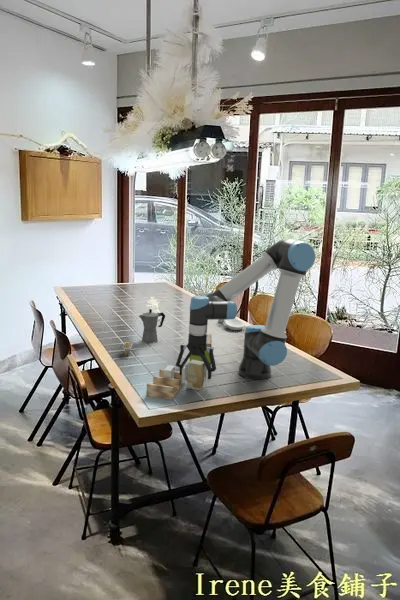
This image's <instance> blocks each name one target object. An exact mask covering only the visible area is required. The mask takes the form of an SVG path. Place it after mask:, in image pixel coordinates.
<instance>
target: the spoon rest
mask: <svg viewBox="0 0 400 600" xmlns="http://www.w3.org/2000/svg"><path fill="white" fill-rule="evenodd" d="M217 322H218V323H225V325H226V327H227V329H229V330H231V331H240V330H243V328H245V323H243V322H242V321H240V320H239V319H237V318H236V317H235V318H234V319H228V320H217Z"/></svg>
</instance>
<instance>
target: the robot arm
mask: <svg viewBox="0 0 400 600" xmlns="http://www.w3.org/2000/svg"><path fill="white" fill-rule="evenodd" d="M315 262H316V252H315V250H314V248H313V246H312V245H311V244H309V243H308V242H306V241H303V240H298V239H294V238H283V239H281V240H279V241H277V242H275V243H274V244H272V245H271V246H270V247H268V248H267V249H266V250H264V251H263V252H262V256H260V257H259V258H257V259H256V260H255V261H254V262H252V263H250V265H248V266H246V267H245V269H243V270H241V271H240V272H239V273H237V274H236V275H235V276H234V277H232V278H231V279H230V280H229V281H228V282H226V283H225V284H223V285H222V286H221V287H219V288H217V290H215V291H214V292H208V293H206V294H205V295H194V296H192V297H191V298H190V304H189V322H188V323H189V324H188V337H187V338H188V339H187V340H188V341H187V344H185V343H184V342H183V343H181V345H180V348H179V349H180V351H179V354H178V357H177V359H176V363H175V367H177V368H179V372H180V375H182V381H181V384H183V383H184V384H185V382H186V366H185V365H186V363H187V362H188V360H190V356H191V354H192V355H197V356H201V358H202V360H203V362H204V364H205V366H206V368H207V372H206V373H205V382H204V384H205V385H204V388H208V386H209V380H211V378H212V373H213V372H216V370H217V365H216V359H215V355H214V349H215V348H214V347H213V346H212V347H211V348H210V347H207V345H206V340H207V335H206V334H208V323H209V322H208V320H210V321H212V320H217V321H218V320H224V321H225V320H228V319H234V318H236V317H237V315H238V306H237V303H236V302H235V301H233V300H234V299H235V298H237V297H238V296H239V295H241V294H242V293H243V292H245V291H246V290H247V289H248V288H250V287H251V286H253V285H254V284H255V283H256V282H258V281H259V280H260V279H262V278H263V277H264V276H266V275H267V274H268V273H270V272H271V271H272V270H274V271H275V270H279V273H280V275H279V279H278V281H277V285H276V288H275V292H274V294H273V299H272V302H271V306H270V310H269V312H268V315H267V320H266V323H265V325H263V324H262V325H261V324H253V325H252V324H251V325H247V326H246V327H245V329H244V340H243V342H244V343H243V353H242V354H243V355H242V359H241V360H240V363H239V365H238V374H239V376H241V377H243V378H246V379H250V380H251V379H252V380H265V379H268V378H270V377H271V376H272V368H271V366H273V367H274V366H277V365H280V364H281V363H283V362H284V361H285V359H286V357H287V355H288V349H287V345H286V343H287V338H288V336H287V334H286V329H287V325H288V322H289V318H290V315H291V313H292V309H293V304H294V301H295V298H296V295H297V292H298V289H299V285H300V282H301V279H302V278H304V277H306V274H307V271H308V270H309V269H311V268H312V267H313V265H314V264H315ZM186 349H187V350H188V351H189V352H188V353H187V354H186V356H185V358H184V360H183V361H182V358H183V356H184V352H185V350H186ZM206 350H208V353H209V357H210V361H211V366H210V364H209V362H208V359H207V357H206V354H205V351H206Z"/></svg>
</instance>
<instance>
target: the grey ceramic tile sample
mask: <svg viewBox="0 0 400 600" xmlns="http://www.w3.org/2000/svg"><path fill="white" fill-rule="evenodd" d="M163 370H164V377H165V378H172V379H174V377H175V371H176V365H172V364H170V365H169V364H167V365H166V367H165V368H164V369H163Z"/></svg>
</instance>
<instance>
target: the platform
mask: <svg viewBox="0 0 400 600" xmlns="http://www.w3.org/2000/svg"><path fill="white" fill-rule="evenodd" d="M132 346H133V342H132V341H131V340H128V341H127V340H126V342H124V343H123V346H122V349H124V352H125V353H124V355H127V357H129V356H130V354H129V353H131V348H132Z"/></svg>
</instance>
